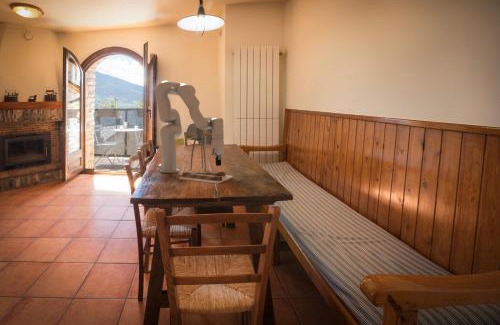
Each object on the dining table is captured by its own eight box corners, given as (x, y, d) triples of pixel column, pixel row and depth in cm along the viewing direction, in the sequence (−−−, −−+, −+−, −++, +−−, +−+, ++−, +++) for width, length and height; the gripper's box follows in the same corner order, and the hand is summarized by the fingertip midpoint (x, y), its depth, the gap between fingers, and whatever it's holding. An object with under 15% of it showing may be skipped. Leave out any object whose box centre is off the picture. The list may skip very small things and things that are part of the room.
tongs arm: (190, 176, 232) (190, 172, 231) (190, 175, 235) (190, 171, 234) (225, 175, 234) (225, 172, 234) (225, 174, 237) (225, 171, 236)
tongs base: (182, 176, 230) (182, 172, 229) (185, 175, 233) (185, 171, 232) (219, 181, 219) (219, 176, 219) (222, 180, 222) (222, 175, 221)
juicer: (205, 171, 255) (205, 127, 250) (190, 170, 257) (190, 127, 252) (210, 168, 265) (210, 126, 260) (195, 167, 267) (194, 126, 262)
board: (179, 179, 228) (179, 177, 228) (196, 173, 246) (196, 172, 246) (217, 183, 217) (217, 182, 217) (233, 177, 235) (233, 175, 235)
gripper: (218, 136, 245) (219, 163, 248) (206, 138, 231) (207, 167, 234) (228, 136, 242) (228, 164, 245) (217, 138, 228) (217, 167, 231)
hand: (218, 165), depth 239 cm, fingers closed
